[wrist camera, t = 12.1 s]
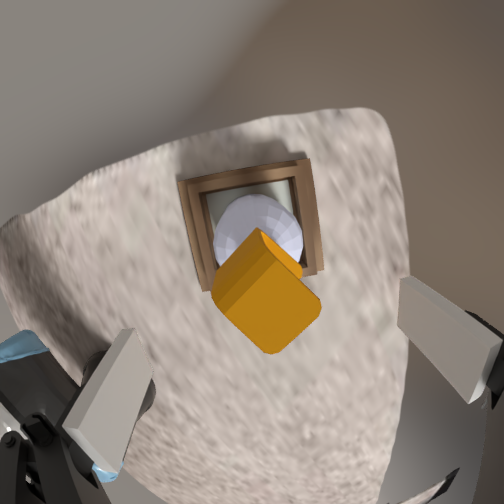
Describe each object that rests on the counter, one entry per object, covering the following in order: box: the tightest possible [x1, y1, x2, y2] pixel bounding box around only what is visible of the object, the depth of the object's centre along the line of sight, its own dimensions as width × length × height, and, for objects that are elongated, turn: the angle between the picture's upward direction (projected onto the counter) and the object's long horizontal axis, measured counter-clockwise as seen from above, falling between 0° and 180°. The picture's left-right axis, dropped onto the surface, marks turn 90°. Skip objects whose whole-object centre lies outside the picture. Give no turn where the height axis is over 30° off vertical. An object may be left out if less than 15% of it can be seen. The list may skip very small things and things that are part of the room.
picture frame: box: [178, 158, 324, 292], centre depth 36 cm, size 18×16×4 cm
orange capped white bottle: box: [211, 194, 322, 354], centre depth 25 cm, size 9×9×25 cm
